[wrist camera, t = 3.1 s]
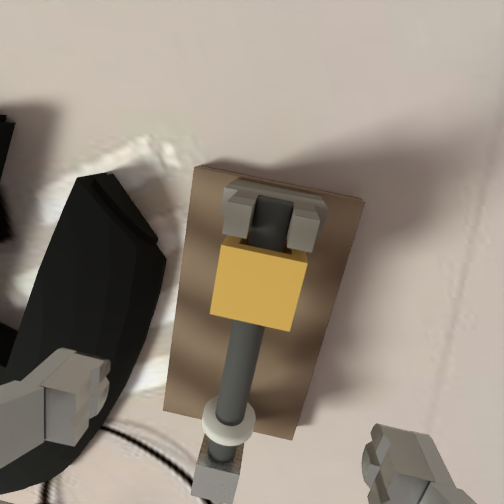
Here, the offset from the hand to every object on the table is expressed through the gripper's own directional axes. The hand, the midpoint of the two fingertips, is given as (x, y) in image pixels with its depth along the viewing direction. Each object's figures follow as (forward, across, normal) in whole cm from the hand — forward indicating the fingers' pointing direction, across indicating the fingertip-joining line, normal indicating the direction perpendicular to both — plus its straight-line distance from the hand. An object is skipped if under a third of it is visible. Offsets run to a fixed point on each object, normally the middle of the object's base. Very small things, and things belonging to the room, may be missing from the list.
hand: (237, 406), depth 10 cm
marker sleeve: (+12, 0, 0) cm, 12 cm away
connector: (+16, 0, +15) cm, 22 cm away
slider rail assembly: (+17, 0, +6) cm, 18 cm away
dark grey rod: (+12, 0, +4) cm, 13 cm away
